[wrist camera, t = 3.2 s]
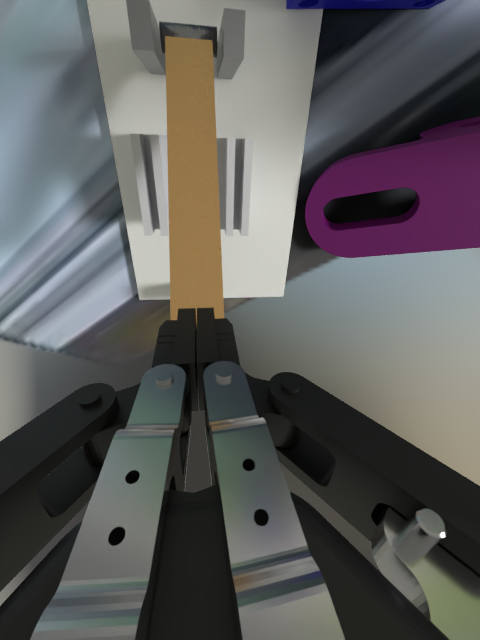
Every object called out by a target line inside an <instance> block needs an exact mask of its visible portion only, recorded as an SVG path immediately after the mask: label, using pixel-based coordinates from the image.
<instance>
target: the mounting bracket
mask: <svg viewBox="0 0 480 640" xmlns="http://www.w3.org/2000/svg"><path fill="white" fill-rule="evenodd" d="M403 187H405V188H410V189H413V190H414V191H416V200H415V203H414V205H413V206H412V207H411V209H410V210H409V211H407V212H406V213H404V214H402V215H400V216H395V217H387V218H379V219H371V220H363V221H355V222H347V223H339V224H336V223H332V222H330V221H328V220H327V219H326V217H325V215H324V212H323V208H324V206H325V205H326V204H327V203H328V202H329V201H331V200H332V199H335V198H340V197H346V196H353V195H359V194H365V193H371V192H377V191H384V190H390V189H396V188H403ZM305 220H306V225H307V229H308V231H309V234H310V236H311V237H312V239H313V240H314V241H315V243H316V244H317V245H318V246H319V247H321V248H322V249H323V250H325V251H326V252H328V253H330V254H333V255H336V256H340V257H347V258H355V257H367V256H380V255H392V254H404V253H417V252H429V251H442V250H454V249H466V248H479V247H480V116H479V117H474V118H469V119H464V120H460V121H455V122H452V123H449V124H445V125H442V126H438V127H435V128H431V129H428V130H425V131H423V132H421V133H420V135H419V140H417V141H412V142H408V143H403V144H398V145H394V146H389V147H384V148H380V149H375V150H370V151H366V152H361V153H356V154H352V155H349V156H346V157H343V158H341V159H339V160H337V161H336V162H334V163H333V164H331V165H330V166H329V167H328V168H327V169H326V170H325V171H323V173H322V174H321V175H320V176H319V178H318V179H317V180H316V182H315V184H314V186H313V188H312V190H311V192H310V194H309V197H308V200H307V203H306V209H305Z"/></svg>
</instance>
